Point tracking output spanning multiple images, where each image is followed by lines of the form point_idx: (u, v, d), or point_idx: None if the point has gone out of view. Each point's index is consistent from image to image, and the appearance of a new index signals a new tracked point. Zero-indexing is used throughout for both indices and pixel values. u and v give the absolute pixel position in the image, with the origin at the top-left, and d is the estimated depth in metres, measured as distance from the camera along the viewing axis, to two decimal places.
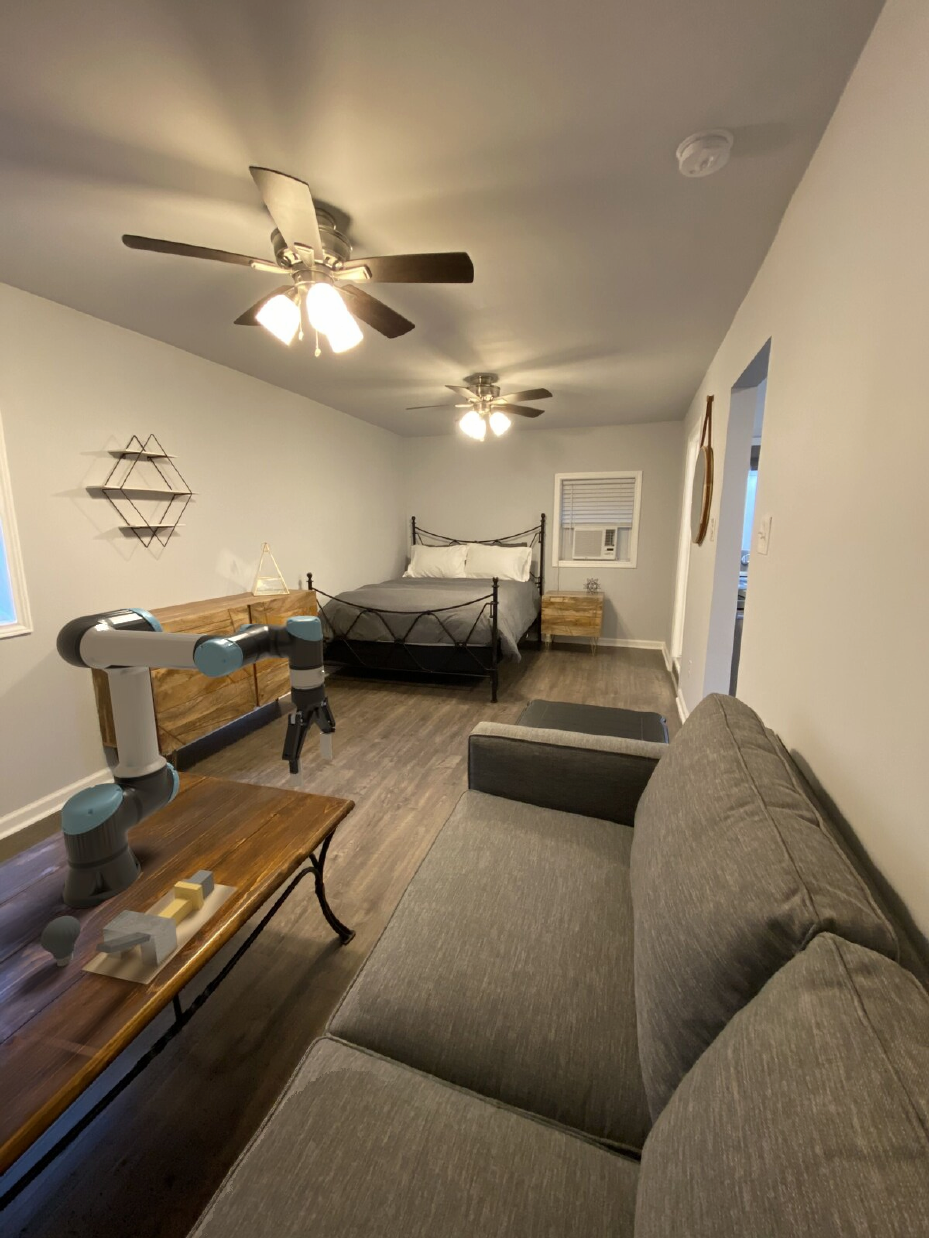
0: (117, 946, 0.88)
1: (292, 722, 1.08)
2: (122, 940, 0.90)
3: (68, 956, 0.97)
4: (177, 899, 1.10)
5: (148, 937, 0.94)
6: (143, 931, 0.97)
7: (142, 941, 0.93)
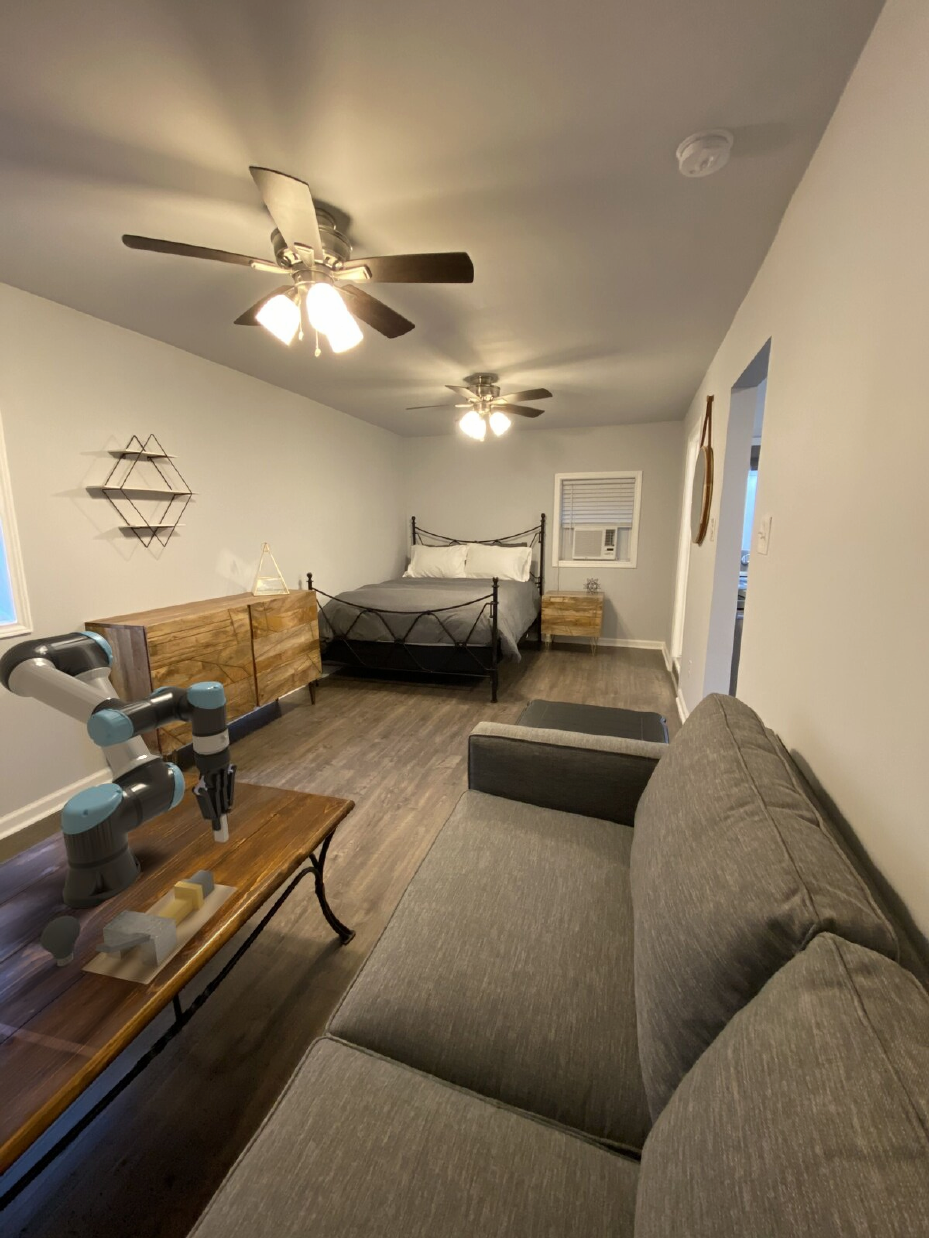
0: (117, 946, 0.88)
1: (198, 794, 1.14)
2: (122, 940, 0.90)
3: (68, 956, 0.97)
4: (177, 899, 1.10)
5: (148, 937, 0.94)
6: (143, 931, 0.97)
7: (142, 941, 0.93)
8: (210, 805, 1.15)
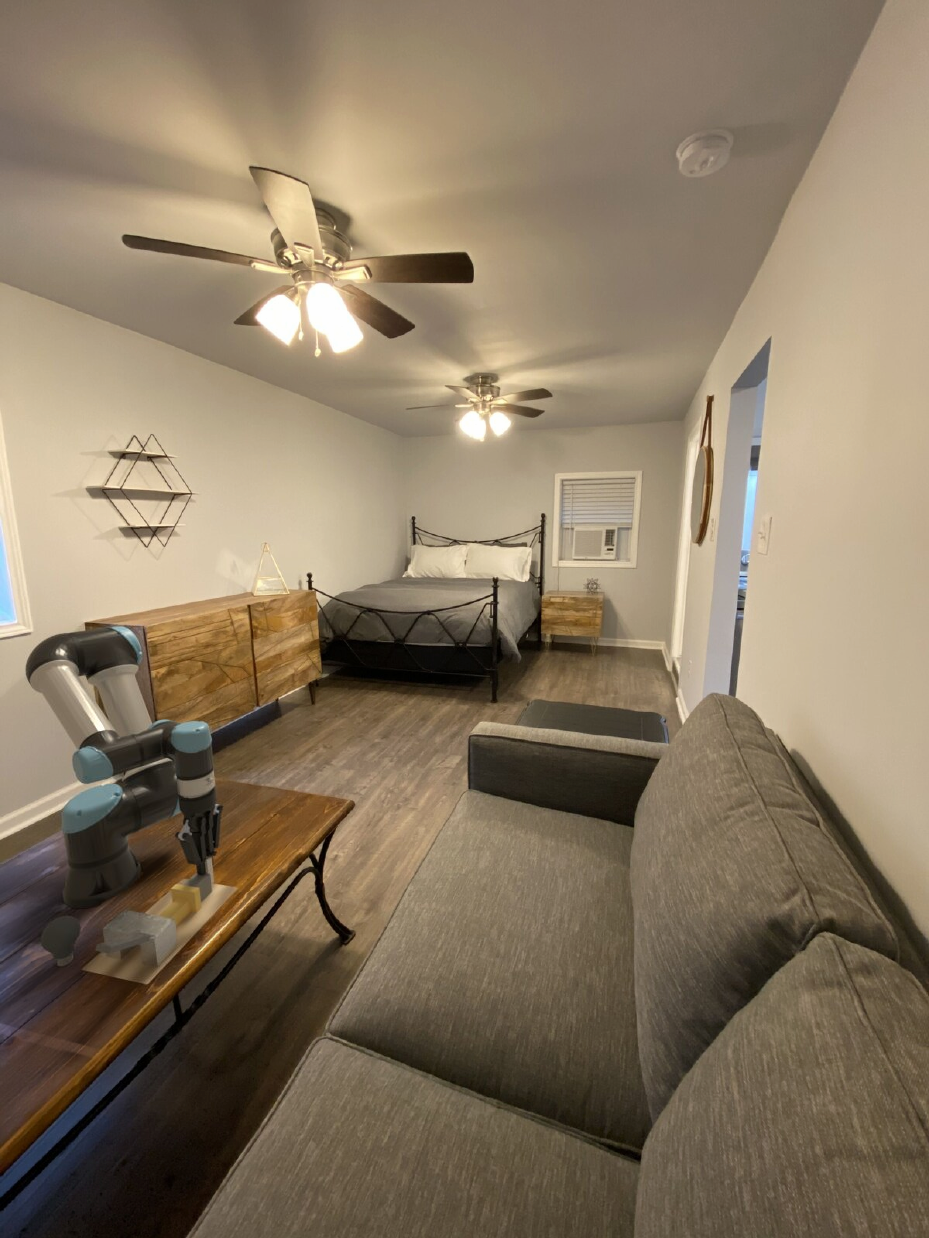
0: (117, 946, 0.88)
1: (182, 839, 1.09)
2: (122, 940, 0.90)
3: (68, 956, 0.97)
4: (174, 902, 1.09)
5: (148, 937, 0.94)
6: (143, 931, 0.97)
7: (142, 941, 0.93)
8: (195, 850, 1.11)
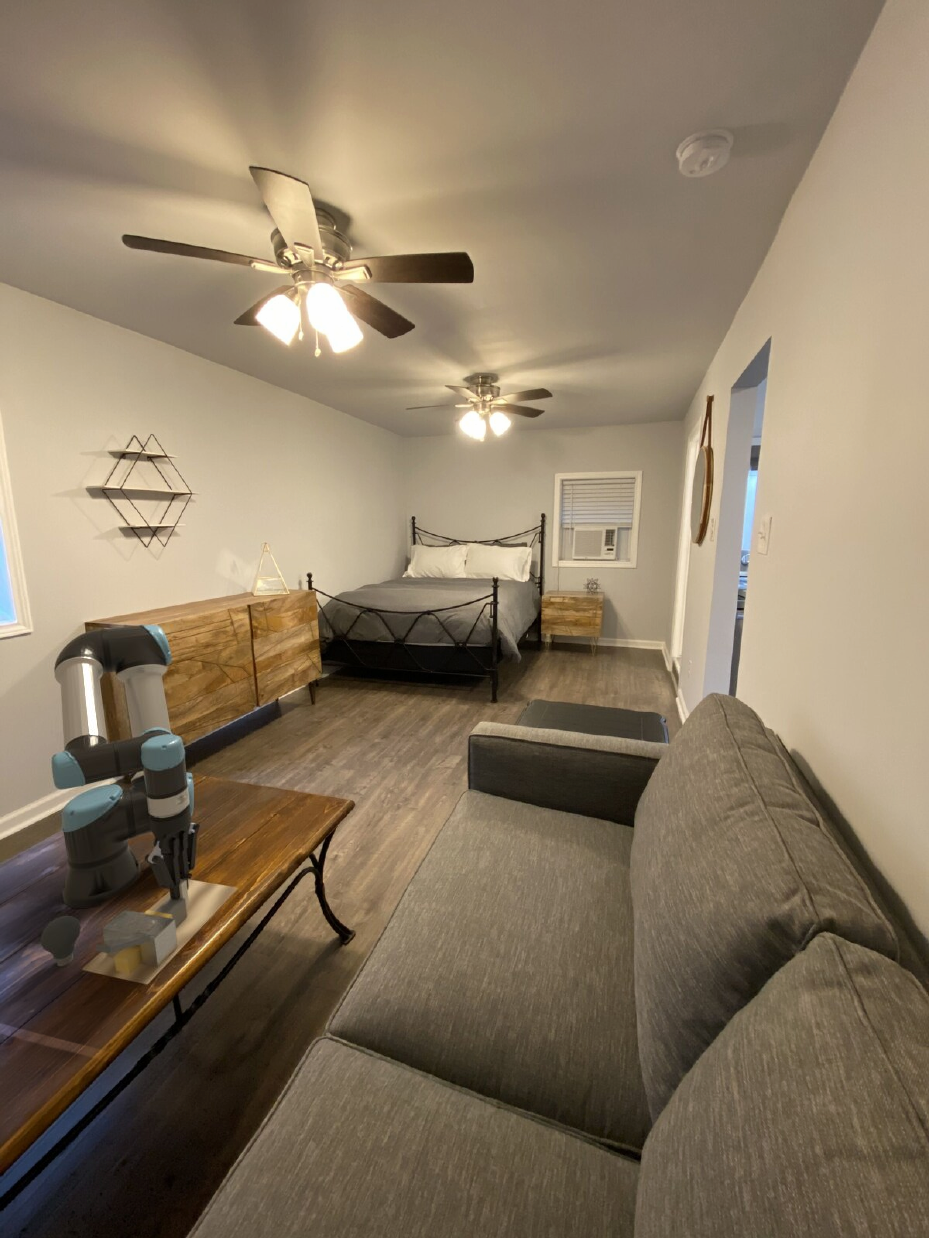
0: (117, 946, 0.88)
1: (153, 862, 1.02)
2: (122, 940, 0.90)
3: (68, 956, 0.97)
4: None
5: (148, 937, 0.94)
6: (143, 931, 0.97)
7: (142, 941, 0.93)
8: (167, 873, 1.04)
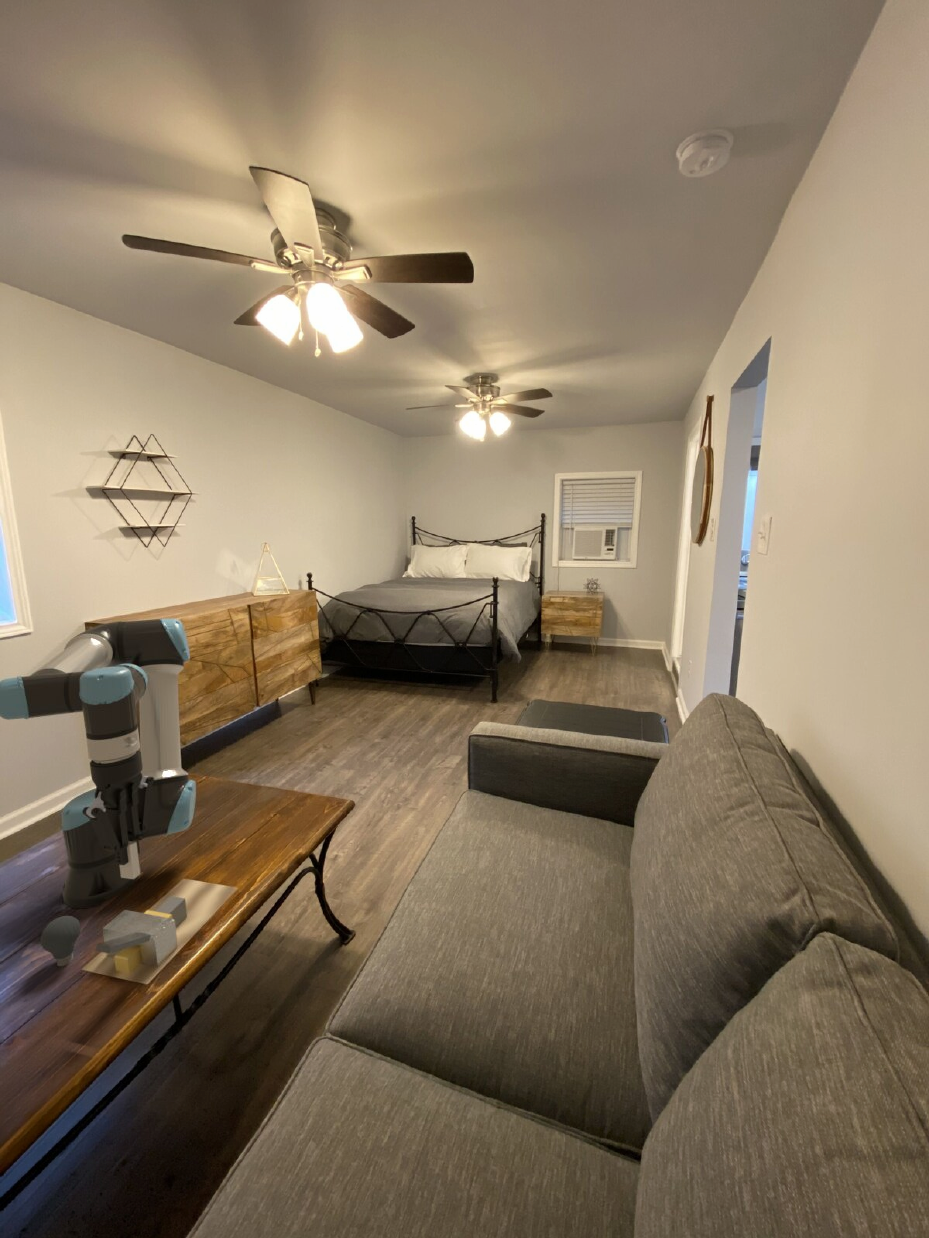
0: (117, 946, 0.88)
1: (93, 817, 0.85)
2: (122, 940, 0.90)
3: (68, 956, 0.97)
4: None
5: (148, 937, 0.94)
6: (143, 931, 0.97)
7: (142, 941, 0.93)
8: (110, 831, 0.87)
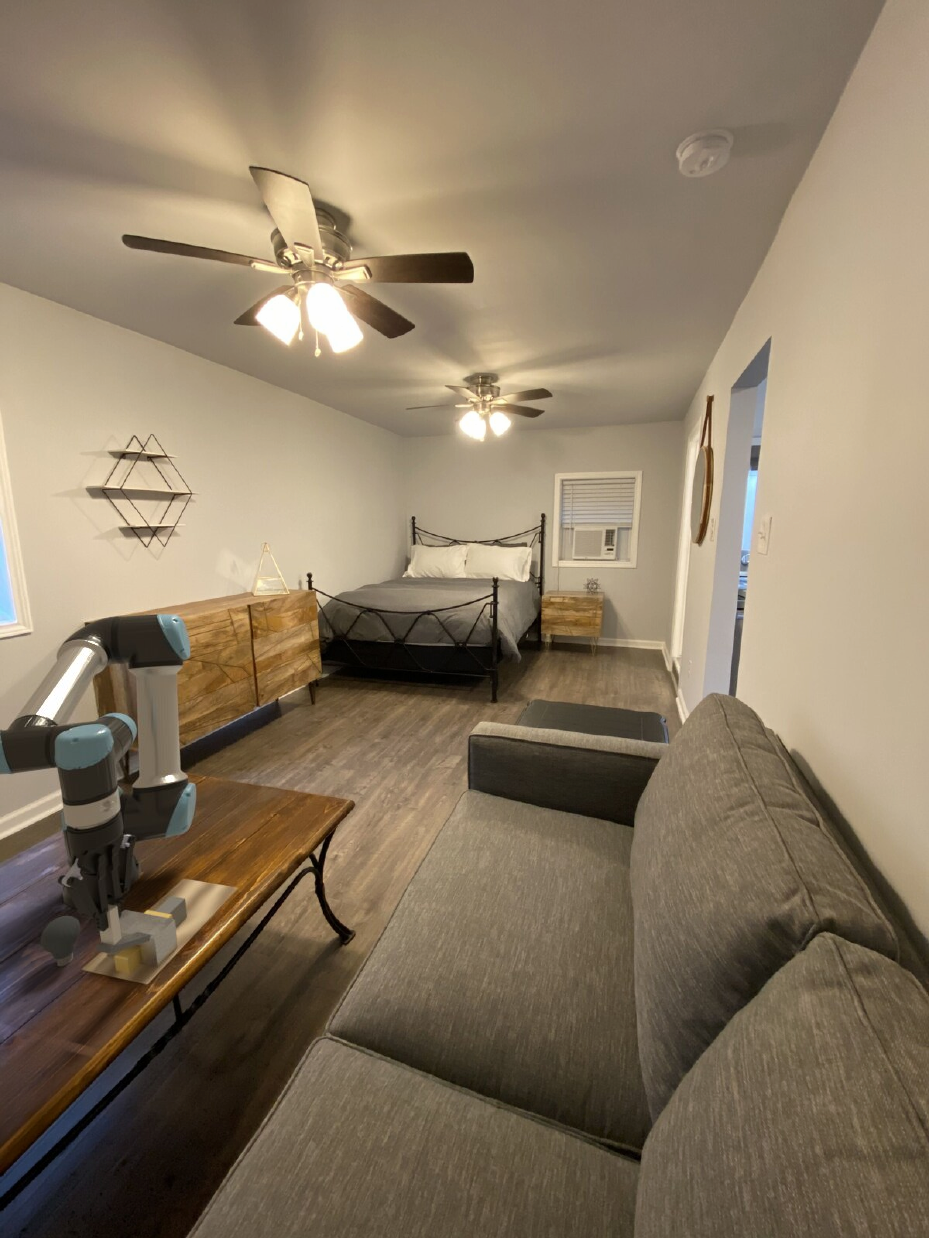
0: (117, 946, 0.88)
1: (69, 886, 0.81)
2: (122, 940, 0.90)
3: (68, 956, 0.97)
4: None
5: (148, 937, 0.94)
6: (143, 931, 0.97)
7: (142, 941, 0.93)
8: (88, 899, 0.82)
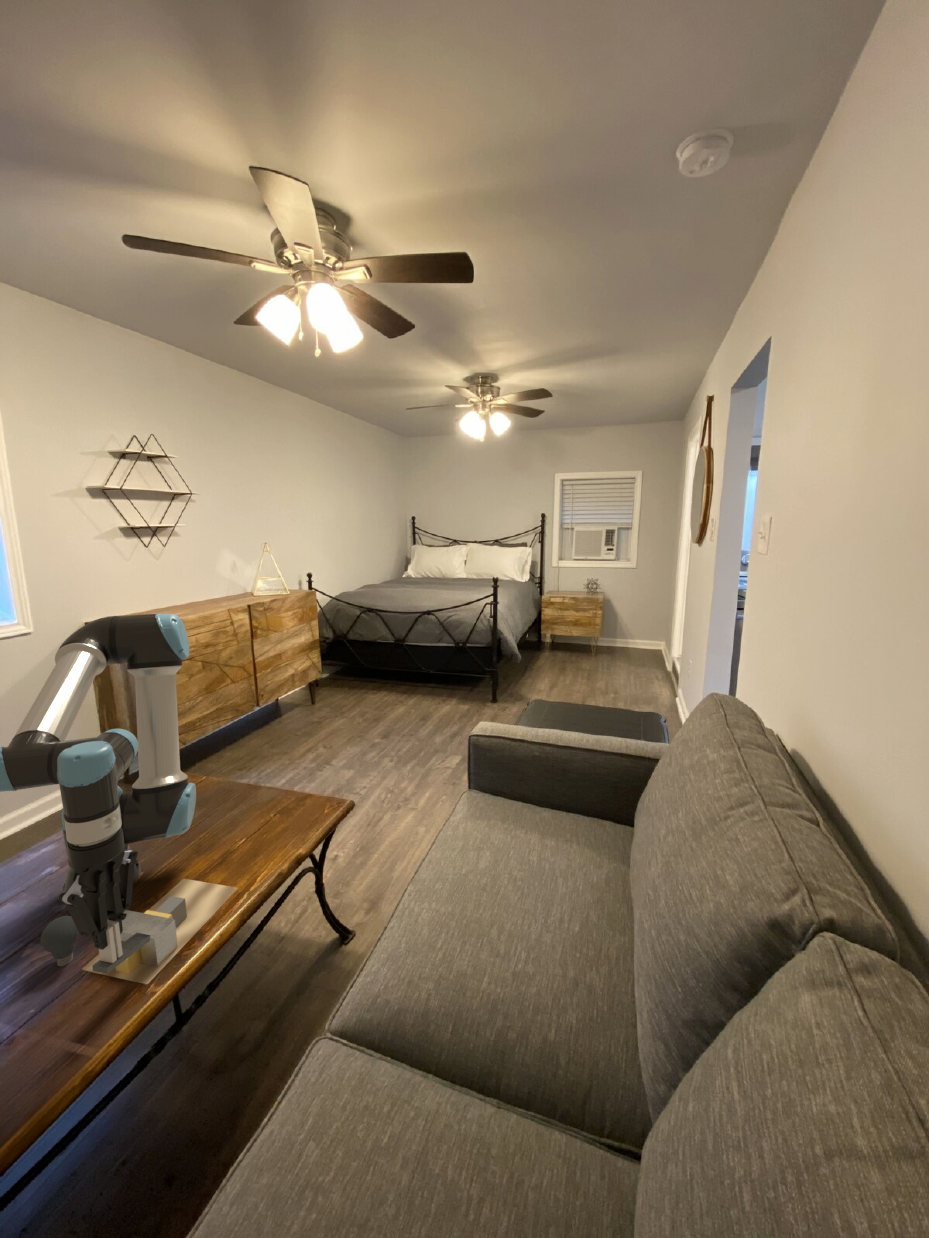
0: (114, 964, 0.87)
1: (69, 903, 0.81)
2: None
3: (68, 956, 0.97)
4: None
5: (148, 938, 0.94)
6: (143, 931, 0.97)
7: (142, 945, 0.93)
8: (88, 917, 0.82)
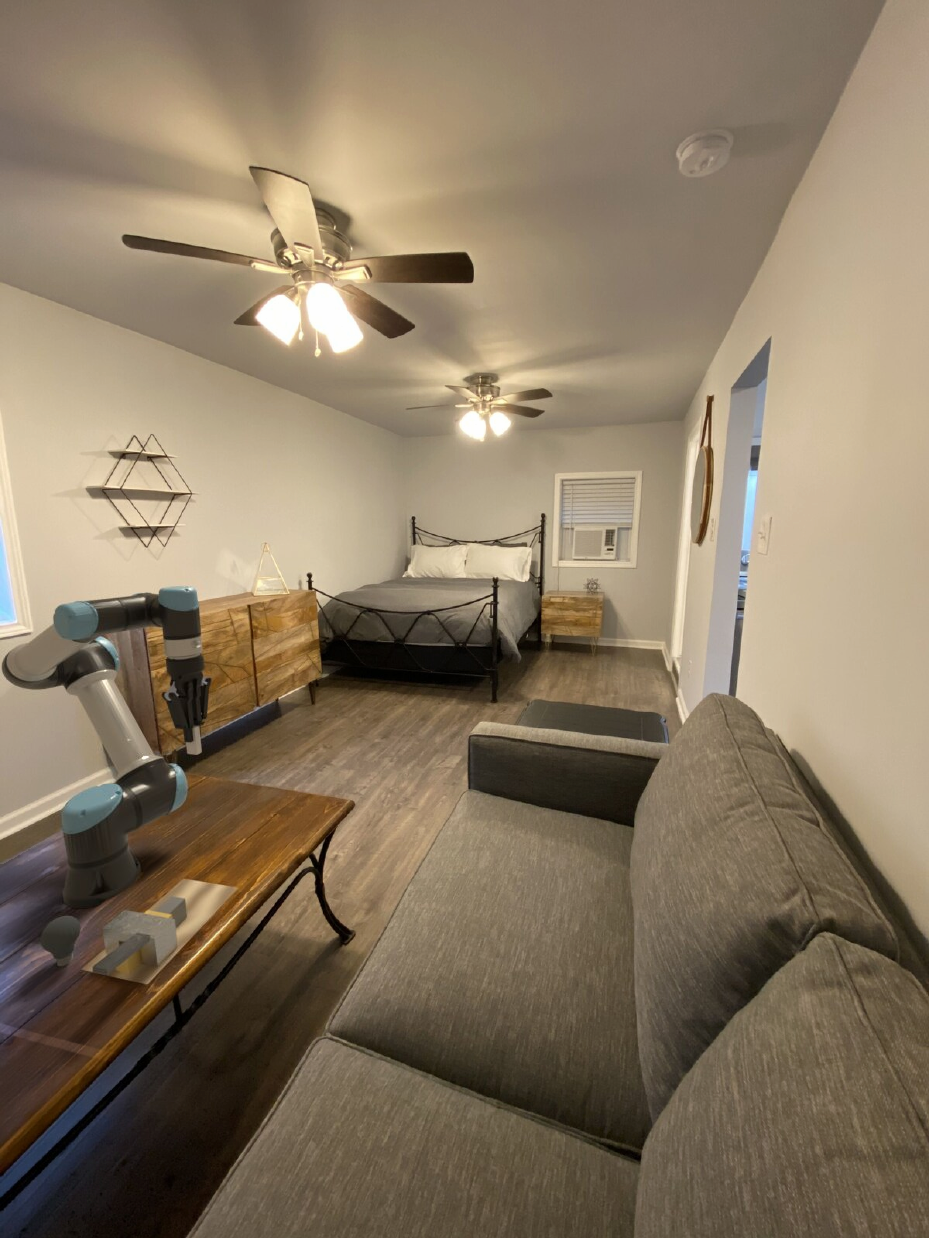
0: (114, 965, 0.87)
1: (169, 700, 1.10)
2: (119, 953, 0.90)
3: (68, 956, 0.97)
4: None
5: (148, 938, 0.94)
6: (143, 931, 0.97)
7: (142, 945, 0.93)
8: (181, 713, 1.11)
